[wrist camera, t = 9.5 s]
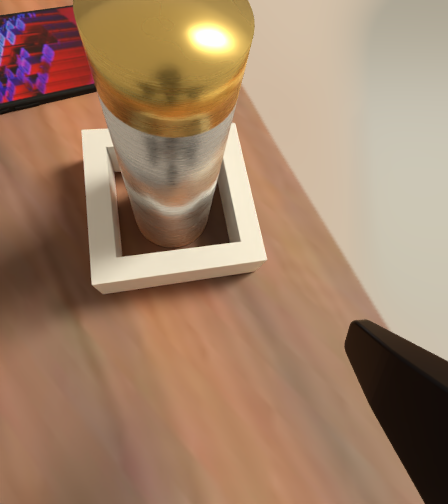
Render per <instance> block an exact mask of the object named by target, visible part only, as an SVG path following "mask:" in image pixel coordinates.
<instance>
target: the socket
mask: <svg viewBox="0 0 448 504" xmlns="http://www.w3.org/2000/svg"><path fill="white" fill-rule="evenodd" d="M82 145H83V160H84V175H85V190H86V205H87V221H88V236H89V251H90V266H91V281H92V286H94V287H95V288H96V289H97V290H98V291H100V292H101V293H102V294H109V293H115V292H122V291H129V290H135V289H142V288H149V287H155V286H162V285H168V284H175V283H182V282H188V281H195V280H202V279H208V278H215V277H222V276H228V275H235V274H242V273H248V272H255V271H256V270H257V269H258V268H259V267H260V266H261V265H262V264H263V263H265V262H266V261H267V257H266V253H265V249H264V244H263V240H262V236H261V231H260V227H259V223H258V219H257V214H256V210H255V206H254V202H253V197H252V193H251V189H250V185H249V180H248V176H247V172H246V168H245V163H244V159H243V155H242V151H241V146H240V142H239V138H238V133H237V129H236V125H235V123H231V127H230V131H229V135H228V139H227V143H226V147H225V152H224V156H223V160H222V164H221V168H220V172H219V176H218V180H217V182H218V186H219V191H220V196H221V201H222V206H223V211H224V216H225V221H226V226H227V231H228V236H229V241H230V243H226V244H218V245H211V246H203V247H195V248H187V249H179V250H171V251H164V252H156V253H148V254H140V255H132V256H124V257H122V246H121V236H120V226H119V215H118V205H117V195H116V185H115V174H114V172H121V170H120V166H119V163H118V160H117V156H116V153H115V150H114V146H113V143H112V140H111V136H110V133H109V130H108V129H90V130H82Z"/></svg>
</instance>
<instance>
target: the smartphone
mask: <svg viewBox="0 0 448 504" xmlns="http://www.w3.org/2000/svg"><path fill="white" fill-rule="evenodd" d="M93 92H97V90H96V87H95V83H94V80H93V77H92V73H91V70H90V67H89V63H88V60H87V57H86V53H85V50H84V47H83V43H82V40H81V37H80V33H79V30H78V27H77V23H76V20H75V16H74V11H73V5H72V6H64V7H57V8H50V9H43V10H35V11H28V12H21V13H14V14H7V15H0V114H3V113H7V112H11V111H16V110H20V109H24V108H28V107H33V106H37V105H41V104H46V103H50V102H54V101H58V100H63V99H67V98H71V97H76V96H80V95H84V94H88V93H93Z"/></svg>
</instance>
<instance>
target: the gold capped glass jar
mask: <svg viewBox="0 0 448 504" xmlns="http://www.w3.org/2000/svg"><path fill="white" fill-rule="evenodd" d="M73 11H74V16H75V20H76V23H77V27H78V30H79V33H80V37H81V40H82V43H83V47H84V50H85V53H86V57H87V60H88V63H89V67H90V70H91V73H92V77H93V80H94V83H95V87H96V90H97V93H98V97H99V100H100V103H101V106H102V110H103V113H104V116H105V120H106V123H107V126H108V130H109V133H110V136H111V140H112V143H113V146H114V150H115V153H116V156H117V160H118V163H119V166H120V170H121V173H122V176H123V180H124V183H125V186H126V190H127V193H128V196H129V200H130V203H131V206H132V210H133V213H134V216H135V220H136V223H137V226H138V228H139V230H140V231H141V233H142V234H143V235H144V236H145V237H146V238H147V239H148V240H149V241H151V242H152V243H154V244H156V245H159V246H162V247H167V248H177V247H182V246H185V245H188V244H190V243H192V242H193V241H195V240H196V239H197V238H198V237H199V236H200V235H201V234H202V232H203V231H204V229H205V227H206V223H207V220H208V216H209V212H210V208H211V204H212V200H213V196H214V192H215V188H216V184H217V180H218V176H219V172H220V168H221V164H222V160H223V156H224V152H225V147H226V143H227V139H228V135H229V131H230V127H231V123H232V119H233V115H234V111H235V107H236V103H237V99H238V95H239V91H240V87H241V83H242V79H243V75H244V71H245V67H246V63H247V59H248V55H249V51H250V47H251V43H252V39H253V35H254V27H255V26H254V16H253V12H252V9H251V6H250V4H249V2H248V0H73Z"/></svg>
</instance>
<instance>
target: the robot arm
mask: <svg viewBox="0 0 448 504" xmlns="http://www.w3.org/2000/svg"><path fill="white" fill-rule="evenodd" d="M345 351H346V354H347V356H348V358H349V361H350V363H351V365H352V367H353V370H354V372H355V374H356V376H357V379H358V381H359V383H360V385H361V388H362V390H363V392H364V394H365V396H366V399H367V401H368V403H369V405H370V407H371V409H372V410H373V412H374V414H375V416H376V418H377V419H378V421H379V423H380V425H381V427H382V428H383V430H384V432H385V434H386V435H387V437H388V439H389V441H390V443H391V444H392V446H393V448H394V450H395V451H396V453H397V455H398V457H399V458H400V460H401V462H402V464H403V466H404V467H405V469H406V471H407V473H408V474H409V476H410V478H411V480H412V482H413V483H414V485H415V487H416V489H417V490H418V492H419V494H420V496H421V498H422V499H423V501H424V503H425V504H448V361H446V360H444V359H442V358H440V357H438V356H437V355H435V354H433V353H431V352H429V351H427V350H425V349H423V348H421V347H419V346H417V345H415V344H413V343H412V342H410V341H408V340H406V339H404V338H402V337H400V336H398V335H396V334H394V333H392V332H390V331H388V330H387V329H385V328H383V327H381V326H379V325H377V324H375V323H373V322H371V321H369V320H355V321H352V322H351V324H350V326H349V330H348V333H347V337H346V340H345Z"/></svg>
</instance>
